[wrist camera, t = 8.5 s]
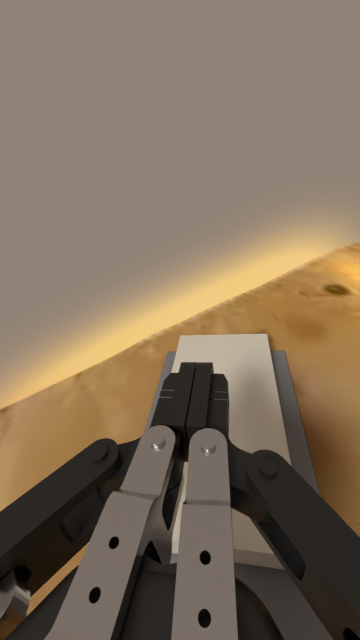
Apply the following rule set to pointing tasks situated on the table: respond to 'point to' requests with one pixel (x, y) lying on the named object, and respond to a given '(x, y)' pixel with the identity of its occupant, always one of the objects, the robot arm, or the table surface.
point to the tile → (241, 420)
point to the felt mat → (275, 584)
